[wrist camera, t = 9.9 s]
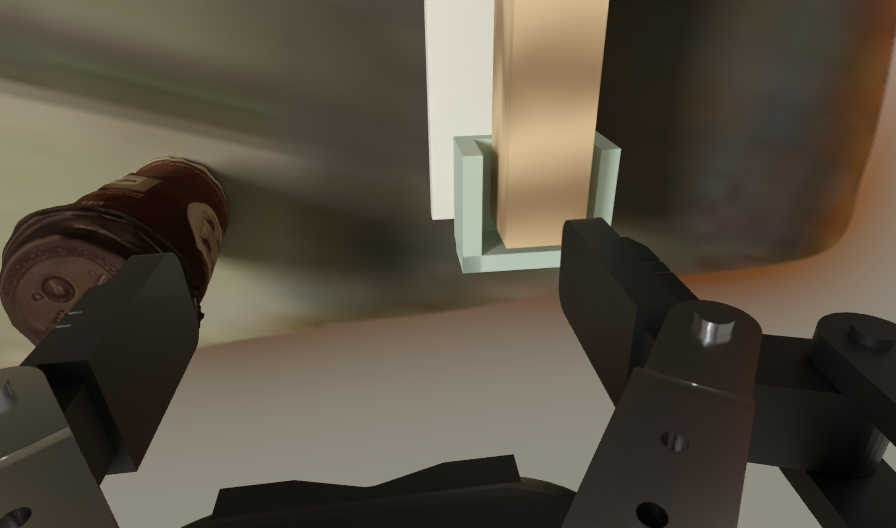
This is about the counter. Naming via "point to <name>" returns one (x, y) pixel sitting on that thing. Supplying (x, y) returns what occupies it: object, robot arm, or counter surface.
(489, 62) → the bracket stand
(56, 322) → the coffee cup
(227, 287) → the counter surface
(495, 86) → the tan rectangular bar
